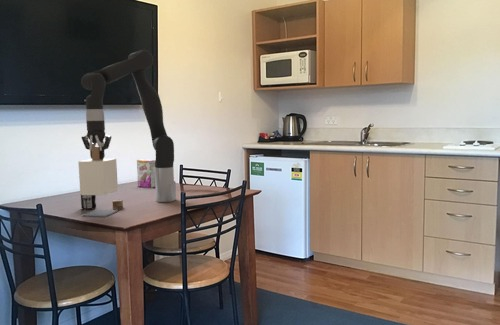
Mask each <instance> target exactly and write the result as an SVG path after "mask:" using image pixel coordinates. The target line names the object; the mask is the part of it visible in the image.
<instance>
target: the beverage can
mask: <svg viewBox="0 0 500 325" xmlns="http://www.w3.org/2000/svg"><path fill="white" fill-rule="evenodd" d="M96 196H97V195H80V203H81V207H80V208H81V209H82V210H84V211H85V210H86V211H87V210H88V211H89V210H96V207H97V197H96Z"/></svg>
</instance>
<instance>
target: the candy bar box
mask: <svg viewBox="0 0 500 325" xmlns="http://www.w3.org/2000/svg"><path fill="white" fill-rule="evenodd" d="M155 160H156V159H146V158H145V159H143V158H142V159H137V160H136V169H137V171H136V172H137V187H140V188H141V187H142V188H150V189H152V188H156V183H155Z"/></svg>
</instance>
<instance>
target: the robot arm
mask: <svg viewBox="0 0 500 325" xmlns="http://www.w3.org/2000/svg"><path fill="white" fill-rule="evenodd" d="M154 61H155V60H154V56H153V55H152V53H151V52H150V51H149V50H147V49H141V50H138V51H135V52H131V53H130V54H129V55H128V58H127V59H125V60H122V61H119V62H116V63H113V64H111V65H108V66H106V67H103V68H102V69H98V70H96V71H92V72H88V73H86V74H84V75H83V76H82V77H81V80H80V85H81V86H82V88H83V89H84V90H87V91H91V92H90V94H89V95H88V96H86V97H85V110H86V111H85V119H86V131H87V133H86V135H84V136H81V140H82V143H83V145H84V148H85V149H86V150H89V154H90V156H89V157H90V159H92V150H91V147H94V146H99V150H100V151H99V153H100V159H105V156H106V154H105V150H107V149H109V147H110V144H111V140H112V135H107V133H106V131H105V130H106V123H105V113H104V112H105V111H104V103H103V99H104V96H105V90H106V86H107V84H111V83H113V82H117V81H119V80H120V79H122V78H125V77H126V76H128V75H130V74H131V75H132V77H133V80H134V82H135V85H136V89H137V92H138V95H139V98H140V102H141V107H142V111H143V113H144V116H145V119H146V122H147V124H148V127H149V131H150V132H149V133H150V136H151V142H152V147H153V149H154V151H155V159H154V160H155V183H156V187H155V201H156V202H158V203H172V202H174V201H175V200H177V190H176V181H175V176H174V175H175V174H174V162H175V143H174V140H173V139H172V137H170V136H168V134H167V131H166V128H165V125H164V124H165V123H164V114H163V113H164V112H163V106H162V102H161V101H162V100H161V98H160V95H159V93H158V92H157V90H156V89H155V88H154V87H153V86H152V84H151V83H150V82H149V80H148V78H147V75H146V72H145V70H148V69H150V68H151V67H152V66H153V65H154Z"/></svg>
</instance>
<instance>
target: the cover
mask: <svg viewBox="0 0 500 325" xmlns="http://www.w3.org/2000/svg"><path fill="white" fill-rule="evenodd" d="M91 150H92V158H89V159H84V160H78V162H77V163H78V175H79V176H78V178H79V179H78V180H79V192H80V193H79V194H80V196H81V195H96V196H106V195H109V194H112V193H115V192H118V191H119V189H118V187H119V186H118V185H119V183H118V168H117V166H118V165H117V158H104V159H100V153H99V151H100V150H99V146H98V145H95V146H94V147H91Z"/></svg>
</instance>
